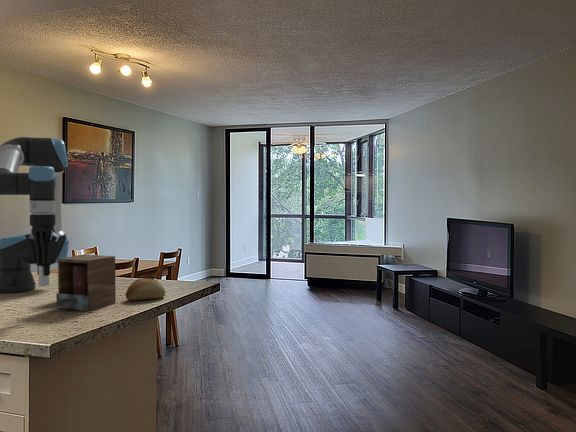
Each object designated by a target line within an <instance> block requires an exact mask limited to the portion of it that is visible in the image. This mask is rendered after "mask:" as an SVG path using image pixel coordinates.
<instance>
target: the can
mask: <svg viewBox="0 0 576 432" xmlns="http://www.w3.org/2000/svg"><path fill="white" fill-rule="evenodd" d="M73 294H74V295H84V296H88V277H87V264H78V265H74V267H73Z"/></svg>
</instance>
